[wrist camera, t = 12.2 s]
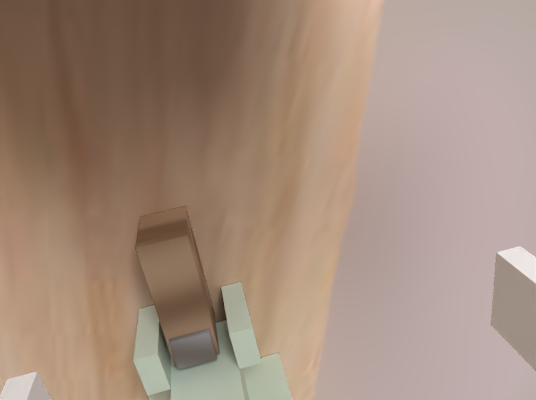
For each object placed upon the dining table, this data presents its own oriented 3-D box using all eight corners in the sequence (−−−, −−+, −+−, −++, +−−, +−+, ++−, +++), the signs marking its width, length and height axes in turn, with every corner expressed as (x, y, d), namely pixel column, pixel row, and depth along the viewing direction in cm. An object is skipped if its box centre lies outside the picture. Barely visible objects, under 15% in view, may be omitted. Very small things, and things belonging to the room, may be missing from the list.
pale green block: (118, 314, 42) (94, 443, 30) (260, 276, 44) (296, 384, 31) (154, 403, 47) (147, 546, 35) (281, 366, 49) (319, 491, 36)
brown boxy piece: (140, 215, 39) (134, 251, 33) (185, 205, 40) (187, 239, 34) (174, 322, 44) (174, 370, 38) (214, 312, 45) (220, 358, 39)
